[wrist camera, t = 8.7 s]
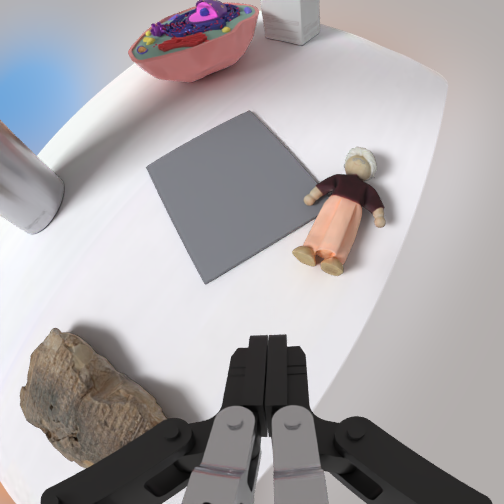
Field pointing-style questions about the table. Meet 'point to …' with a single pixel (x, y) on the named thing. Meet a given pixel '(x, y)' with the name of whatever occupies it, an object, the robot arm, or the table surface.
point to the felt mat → (233, 193)
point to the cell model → (196, 41)
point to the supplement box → (291, 20)
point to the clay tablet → (84, 400)
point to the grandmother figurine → (341, 212)
